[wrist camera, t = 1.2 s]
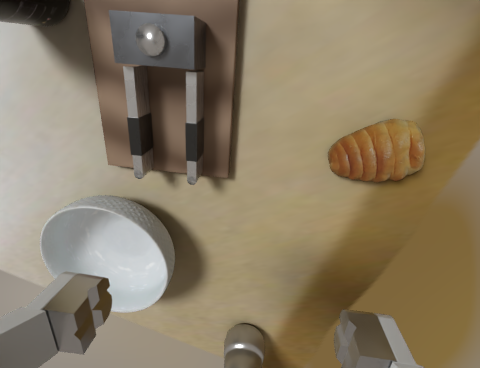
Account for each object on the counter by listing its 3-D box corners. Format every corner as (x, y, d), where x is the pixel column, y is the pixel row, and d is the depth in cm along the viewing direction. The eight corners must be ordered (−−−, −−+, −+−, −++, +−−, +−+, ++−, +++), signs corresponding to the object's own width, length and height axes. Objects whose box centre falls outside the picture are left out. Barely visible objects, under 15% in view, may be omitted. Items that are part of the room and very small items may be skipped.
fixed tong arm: (136, 65, 28) (121, 66, 25) (148, 66, 28) (133, 67, 25) (145, 168, 33) (133, 178, 30) (155, 169, 33) (143, 179, 30)
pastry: (329, 183, 33) (336, 197, 30) (323, 130, 31) (330, 138, 27) (412, 169, 31) (429, 182, 28) (413, 111, 29) (432, 118, 25)
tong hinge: (133, 17, 26) (104, 8, 22) (206, 22, 26) (192, 14, 21) (137, 62, 28) (111, 63, 23) (205, 68, 27) (192, 69, 23)
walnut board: (88, -32, 26) (78, -37, 25) (240, -23, 25) (239, -27, 24) (114, 160, 35) (108, 164, 33) (229, 173, 34) (227, 177, 32)
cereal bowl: (90, 158, 35) (49, 181, 29) (203, 216, 37) (189, 248, 31) (65, 247, 42) (28, 281, 36) (161, 291, 44) (143, 330, 38)
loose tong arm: (193, 70, 27) (184, 71, 25) (205, 71, 27) (197, 72, 24) (193, 173, 32) (186, 184, 29) (203, 174, 32) (196, 185, 29)
